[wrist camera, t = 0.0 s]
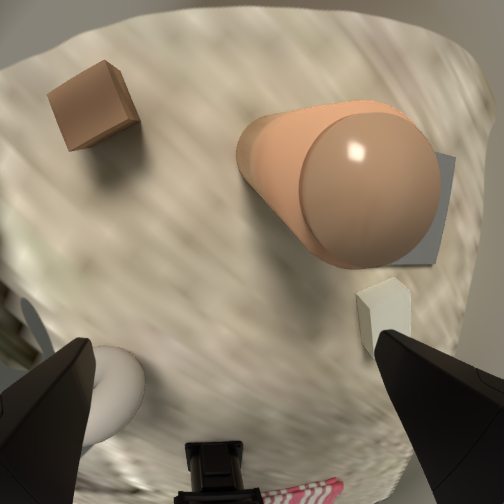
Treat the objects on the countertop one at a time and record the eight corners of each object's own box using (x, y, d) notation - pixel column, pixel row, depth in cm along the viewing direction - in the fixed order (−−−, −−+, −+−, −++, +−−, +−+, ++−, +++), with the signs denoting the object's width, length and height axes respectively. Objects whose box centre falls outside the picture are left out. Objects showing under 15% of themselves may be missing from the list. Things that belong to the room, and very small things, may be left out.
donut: (140, 324, 25) (120, 417, 16) (158, 355, 26) (149, 449, 17) (50, 350, 24) (13, 430, 15) (69, 377, 26) (42, 458, 17)
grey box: (395, 326, 30) (410, 342, 27) (360, 341, 29) (374, 360, 27) (392, 275, 27) (410, 291, 24) (354, 291, 27) (369, 308, 24)
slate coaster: (431, 261, 27) (435, 263, 27) (340, 262, 25) (343, 265, 25) (451, 156, 24) (455, 157, 23) (357, 136, 22) (361, 136, 21)
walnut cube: (140, 120, 19) (128, 118, 16) (90, 147, 19) (69, 151, 16) (120, 71, 18) (104, 59, 14) (70, 98, 18) (46, 94, 14)
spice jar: (311, 195, 23) (430, 276, 10) (233, 192, 22) (282, 281, 9) (318, 119, 21) (457, 121, 8) (238, 111, 20) (301, 82, 7)
